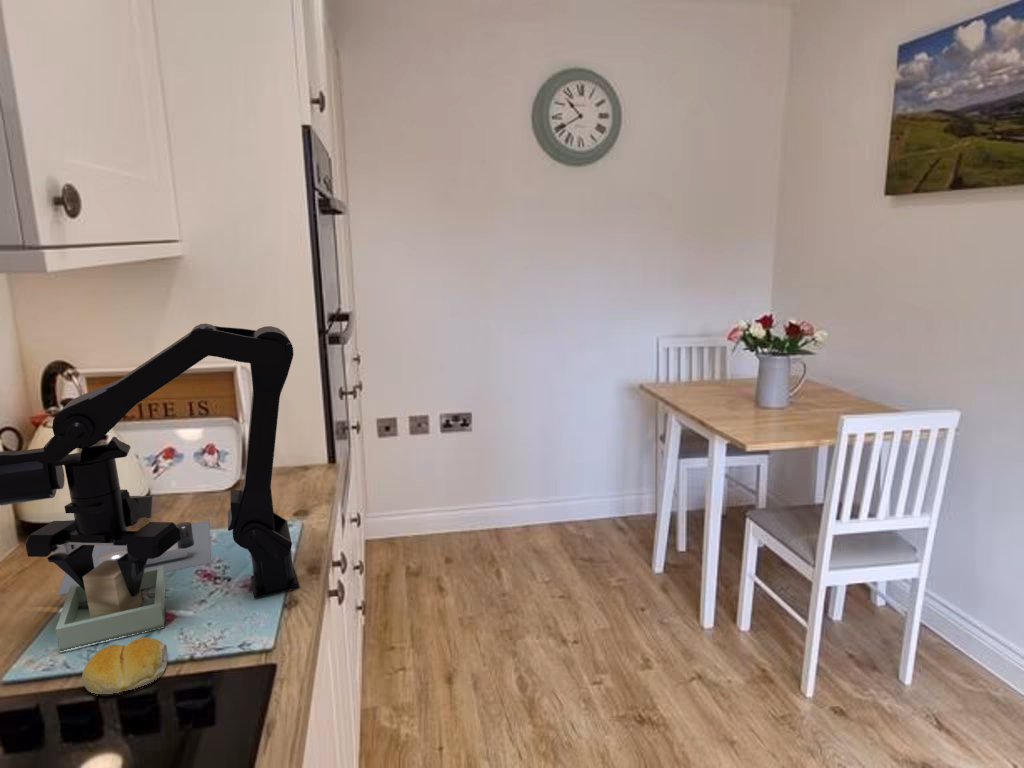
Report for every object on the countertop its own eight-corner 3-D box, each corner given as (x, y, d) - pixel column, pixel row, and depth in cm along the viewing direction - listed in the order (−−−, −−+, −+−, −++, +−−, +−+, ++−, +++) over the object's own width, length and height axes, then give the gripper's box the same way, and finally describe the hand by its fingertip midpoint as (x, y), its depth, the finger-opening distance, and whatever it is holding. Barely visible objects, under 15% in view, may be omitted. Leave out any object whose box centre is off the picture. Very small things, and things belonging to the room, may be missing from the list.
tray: (164, 628, 90) (160, 605, 89) (60, 653, 85) (55, 629, 84) (166, 586, 100) (163, 566, 100) (74, 607, 95) (70, 585, 95)
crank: (99, 577, 100) (93, 547, 99) (102, 564, 104) (97, 536, 103) (195, 557, 106) (191, 529, 105) (195, 546, 110) (191, 518, 109)
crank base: (212, 568, 106) (211, 560, 105) (57, 601, 97) (56, 593, 97) (209, 524, 122) (208, 517, 121) (76, 550, 113) (74, 542, 113)
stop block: (142, 605, 95) (135, 561, 93) (122, 623, 90) (114, 577, 89) (113, 604, 95) (105, 560, 93) (91, 622, 91) (82, 576, 89)
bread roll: (92, 666, 83) (86, 638, 82) (170, 648, 86) (166, 621, 85) (76, 709, 75) (70, 678, 74) (163, 688, 78) (158, 659, 77)
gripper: (194, 469, 95) (208, 566, 99) (73, 468, 97) (91, 564, 100) (147, 500, 85) (164, 608, 88) (11, 499, 86) (34, 605, 90)
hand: (114, 594), depth 92 cm, fingers open, 6 cm apart
